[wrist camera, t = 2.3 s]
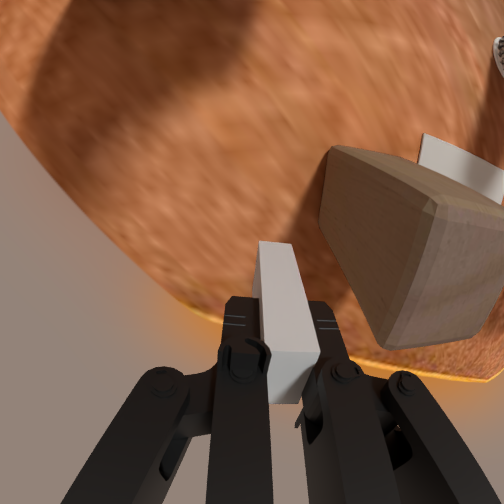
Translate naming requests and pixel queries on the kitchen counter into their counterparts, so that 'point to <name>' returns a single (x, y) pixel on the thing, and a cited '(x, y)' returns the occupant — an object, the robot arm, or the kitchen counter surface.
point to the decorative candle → (499, 53)
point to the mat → (462, 167)
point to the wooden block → (412, 247)
